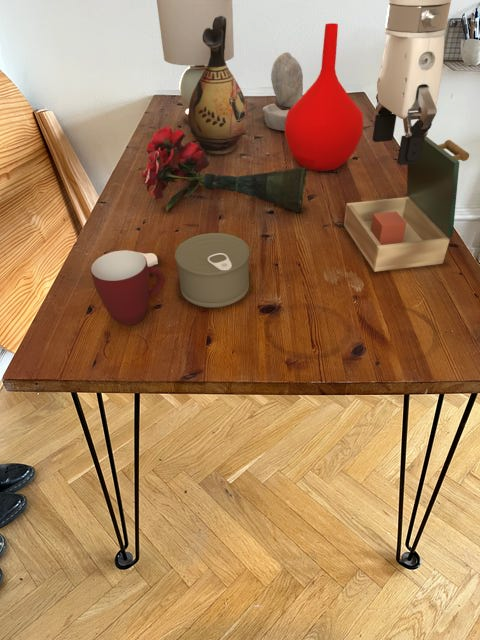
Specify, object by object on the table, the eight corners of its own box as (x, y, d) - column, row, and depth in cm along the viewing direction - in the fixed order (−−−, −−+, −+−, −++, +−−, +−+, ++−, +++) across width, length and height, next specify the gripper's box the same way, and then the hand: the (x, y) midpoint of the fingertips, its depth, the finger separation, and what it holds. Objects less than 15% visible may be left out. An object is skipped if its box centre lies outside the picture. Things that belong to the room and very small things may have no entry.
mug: (149, 289, 81) (139, 237, 75) (179, 309, 77) (171, 257, 70) (95, 318, 76) (79, 265, 69) (124, 342, 71) (110, 288, 65)
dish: (257, 122, 144) (256, 105, 141) (297, 114, 148) (298, 97, 145) (280, 137, 134) (280, 119, 131) (322, 128, 138) (324, 110, 135)
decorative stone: (299, 112, 150) (302, 59, 140) (267, 111, 152) (267, 58, 142) (305, 98, 161) (307, 47, 152) (274, 97, 163) (275, 47, 153)
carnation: (299, 238, 107) (148, 221, 111) (310, 161, 109) (162, 147, 113) (301, 212, 91) (125, 193, 95) (313, 123, 94) (142, 108, 98)
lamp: (236, 129, 140) (230, -18, 117) (167, 131, 140) (148, -15, 118) (237, 108, 155) (232, -26, 132) (175, 110, 156) (160, -23, 133)
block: (392, 232, 91) (396, 211, 88) (401, 245, 88) (406, 223, 85) (369, 235, 91) (373, 213, 88) (378, 247, 87) (382, 225, 85)
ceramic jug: (243, 160, 122) (239, 24, 103) (184, 158, 125) (170, 24, 105) (253, 136, 135) (251, 11, 116) (199, 135, 137) (189, 11, 118)
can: (230, 259, 87) (228, 226, 83) (263, 293, 79) (263, 258, 75) (168, 279, 83) (163, 244, 79) (197, 317, 75) (192, 281, 71)
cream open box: (374, 271, 83) (378, 248, 80) (343, 225, 96) (346, 203, 92) (443, 263, 84) (449, 239, 81) (403, 218, 97) (408, 196, 94)
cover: (454, 163, 72) (489, 153, 72) (407, 126, 85) (437, 118, 85) (448, 238, 81) (479, 229, 81) (406, 195, 94) (433, 187, 93)
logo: (128, 254, 89) (112, 279, 83) (127, 251, 89) (111, 276, 83) (161, 257, 88) (147, 282, 82) (161, 253, 88) (146, 278, 82)
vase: (268, 163, 120) (269, 25, 101) (317, 144, 129) (327, 14, 110) (323, 186, 109) (336, 36, 90) (373, 163, 118) (395, 22, 99)
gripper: (479, 27, 56) (445, 171, 66) (415, 9, 69) (395, 131, 80) (418, 32, 55) (393, 176, 66) (364, 12, 68) (351, 135, 79)
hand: (394, 151), depth 73 cm, fingers open, 9 cm apart
